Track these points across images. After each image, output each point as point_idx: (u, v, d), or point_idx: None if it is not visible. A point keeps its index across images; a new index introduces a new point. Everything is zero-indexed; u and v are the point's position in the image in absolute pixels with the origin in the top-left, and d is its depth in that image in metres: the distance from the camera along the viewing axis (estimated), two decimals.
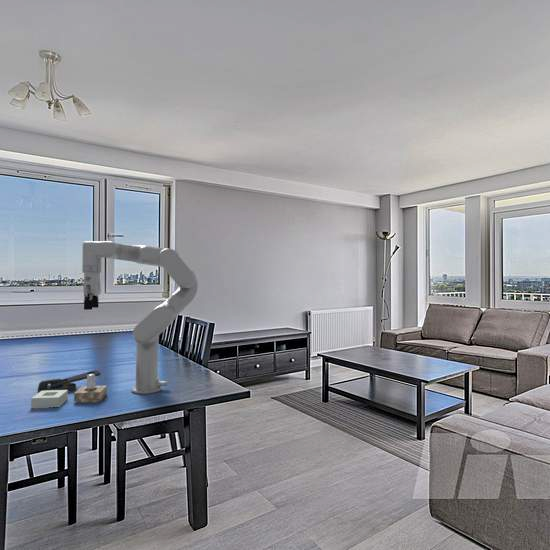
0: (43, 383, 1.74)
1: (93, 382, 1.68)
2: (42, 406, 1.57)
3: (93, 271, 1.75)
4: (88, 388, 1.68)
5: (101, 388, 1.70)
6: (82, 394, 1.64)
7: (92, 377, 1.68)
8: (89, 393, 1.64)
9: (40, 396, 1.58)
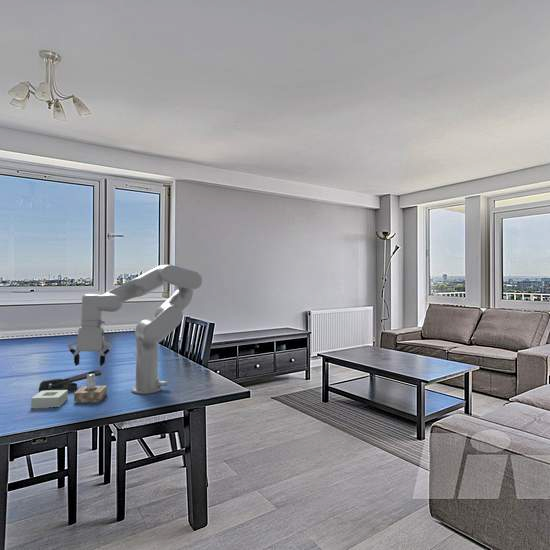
0: (44, 383, 1.75)
1: (93, 382, 1.68)
2: (42, 406, 1.57)
3: None
4: (88, 388, 1.68)
5: (101, 388, 1.70)
6: (82, 394, 1.64)
7: (92, 377, 1.68)
8: (89, 393, 1.64)
9: (40, 396, 1.58)
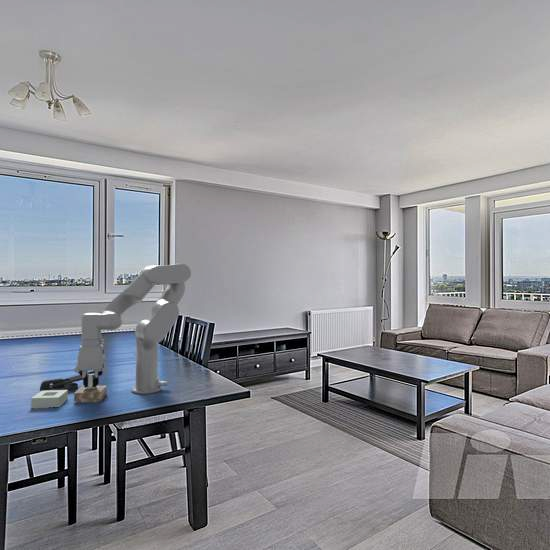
0: (45, 383, 1.75)
1: (93, 382, 1.68)
2: (42, 406, 1.57)
3: None
4: (88, 388, 1.68)
5: (101, 388, 1.70)
6: (82, 394, 1.64)
7: (92, 377, 1.68)
8: (89, 393, 1.64)
9: (40, 396, 1.58)
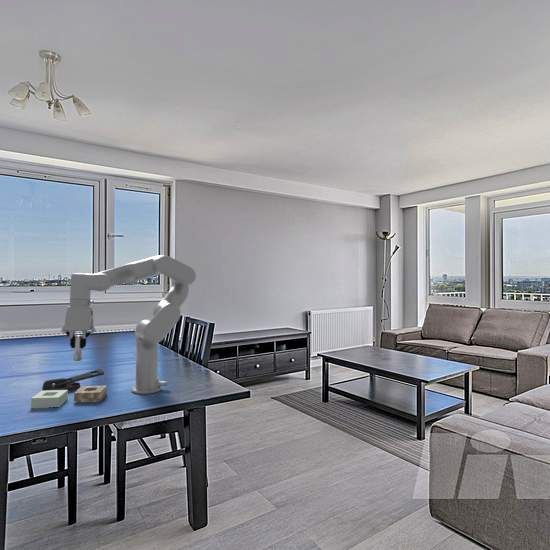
0: (48, 382, 1.76)
1: (80, 343, 1.66)
2: (42, 406, 1.57)
3: None
4: (75, 349, 1.65)
5: (101, 388, 1.70)
6: (82, 394, 1.64)
7: (80, 338, 1.65)
8: (89, 393, 1.64)
9: (40, 396, 1.58)
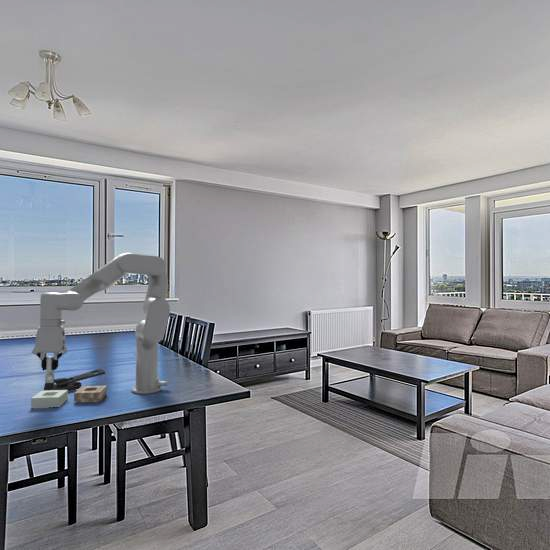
0: None
1: None
2: (42, 406, 1.57)
3: None
4: (46, 371, 1.60)
5: (101, 388, 1.70)
6: (82, 394, 1.64)
7: (51, 359, 1.61)
8: (89, 393, 1.64)
9: (40, 396, 1.58)
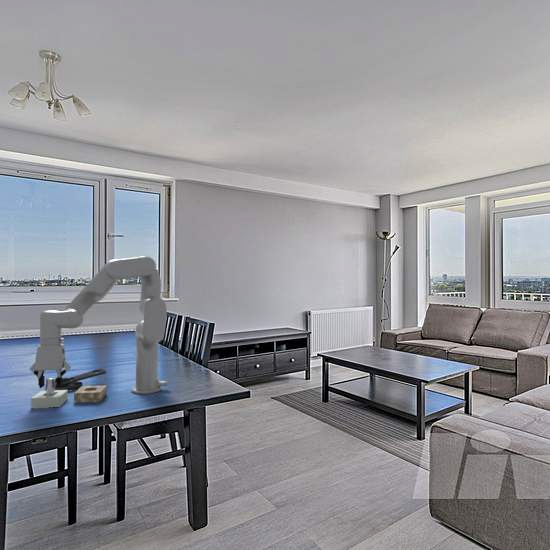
0: None
1: (52, 386, 1.61)
2: (42, 406, 1.57)
3: None
4: (47, 393, 1.60)
5: (101, 388, 1.70)
6: (82, 394, 1.64)
7: (51, 382, 1.61)
8: (89, 393, 1.64)
9: (40, 396, 1.58)
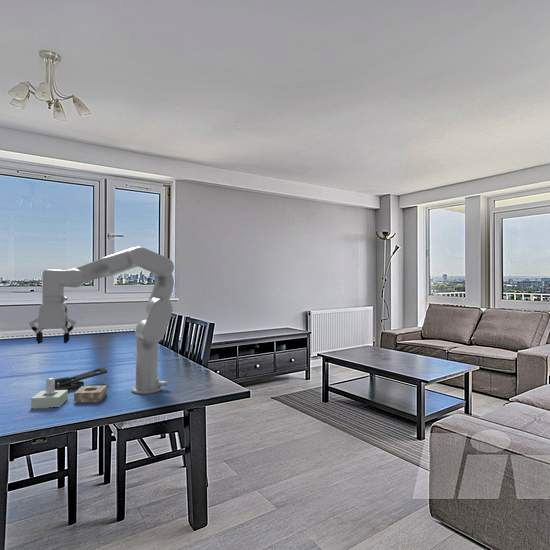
0: None
1: (52, 386, 1.61)
2: (42, 406, 1.57)
3: None
4: (47, 393, 1.60)
5: (101, 388, 1.70)
6: (82, 394, 1.64)
7: (51, 382, 1.61)
8: (89, 393, 1.64)
9: (40, 396, 1.58)
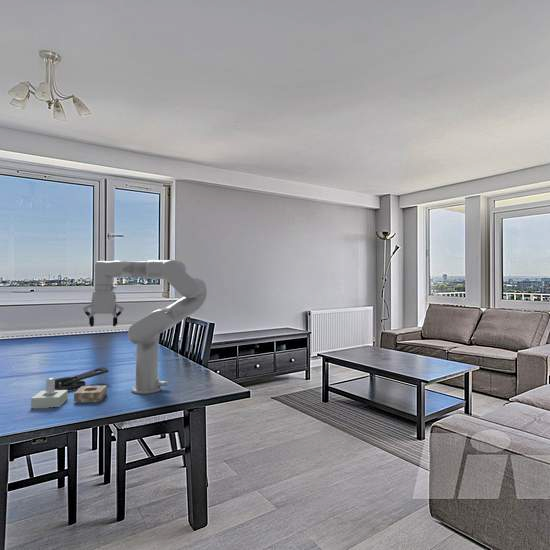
0: (55, 381, 1.78)
1: (52, 386, 1.61)
2: (42, 406, 1.57)
3: None
4: (47, 393, 1.60)
5: (101, 388, 1.70)
6: (82, 394, 1.64)
7: (51, 382, 1.61)
8: (89, 393, 1.64)
9: (40, 396, 1.58)
